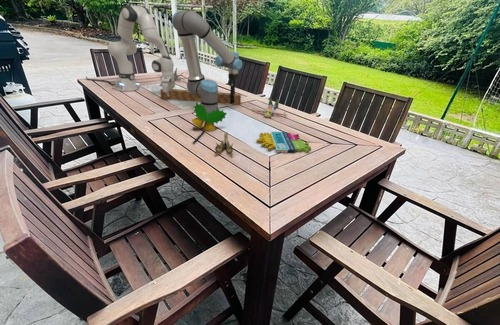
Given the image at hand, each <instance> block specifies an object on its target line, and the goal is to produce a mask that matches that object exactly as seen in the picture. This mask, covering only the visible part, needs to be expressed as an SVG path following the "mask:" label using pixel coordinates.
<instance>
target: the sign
mask: <svg viewBox="0 0 500 325" xmlns="http://www.w3.org/2000/svg"><path fill="white" fill-rule="evenodd" d="M299 136H300V135H299V134H298V133H296V134H294V133H291V132H287V131H270V132H264V133H263V132H260V133H259V139H258V138H257V139H256V143H257V144H261V148H263V147H264V148H265V149H267V151H268V152H271V151H272V150H273V149H275V152H276V153H283V154H285V153H287V154H288V153H290V154H293V153H296V152H298V153H301V152H305V153H310V151H311V150H312V149H311V148H312V146H309V142H304V141H303V139H302V138H299Z"/></svg>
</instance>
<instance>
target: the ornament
mask: <svg viewBox="0 0 500 325" xmlns="http://www.w3.org/2000/svg"><path fill="white" fill-rule="evenodd" d="M219 110H220V108H219V109H217V110H216V111H214V110H212V112H211V113H208V112H206V109H204V106H201V103H198V102H197V101H195V105H194V106H193V112H194V113H195V118H192V119H191V122H192V123H193V125H195V127H197V128H198V129H202V130H204V129H205V131H206V132H212V131H213V132H214V131H215V130H216V126H215V124H218V123H219V122H223V119H226V115H227V114H228V113H227V112H224V110H223V109H221V110H220V111H219ZM207 113H208V115H207ZM204 123H205V125H204ZM214 123H215V124H214Z"/></svg>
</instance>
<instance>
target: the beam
mask: <svg viewBox="0 0 500 325" xmlns="http://www.w3.org/2000/svg"><path fill="white" fill-rule="evenodd" d="M159 91H160V99H161V100H171V101H172V100H173V101H185V102H197V103H198V102H199V103H201V97H199V96H196V95H194V94H192V93H190V92H189V90H188V89H179V88H178V89H177V88H173V89H172V90H170V91H169V94H170V96H169V97H167V93H165V92H163V89H162V88H161V89H159ZM241 102H242V94H241V93H235V94H234V104H233V105H237V106H238V105H239V106H240V105H241ZM218 104H226V105H231V104H230V92H221V91H220V92H219V91H218Z"/></svg>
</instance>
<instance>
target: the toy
mask: <svg viewBox="0 0 500 325" xmlns="http://www.w3.org/2000/svg"><path fill="white" fill-rule="evenodd" d="M278 107H279V99H276V100H275V102H274V104H273V100H272V98H271V97H270V98H269V100H268V106H267V107H266V108H265V110H263V109H255V108H254V107H252V108H251V109H250V111H251V112H252V113H255V112H257V113H263V114H262V116H263V117H265V118H272V117H273V115H277V116H283V117H284V118H287V116H288V114H287V113H286V111H285V112H283V113H280V112H278V111H275V109H276V108H278Z"/></svg>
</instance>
